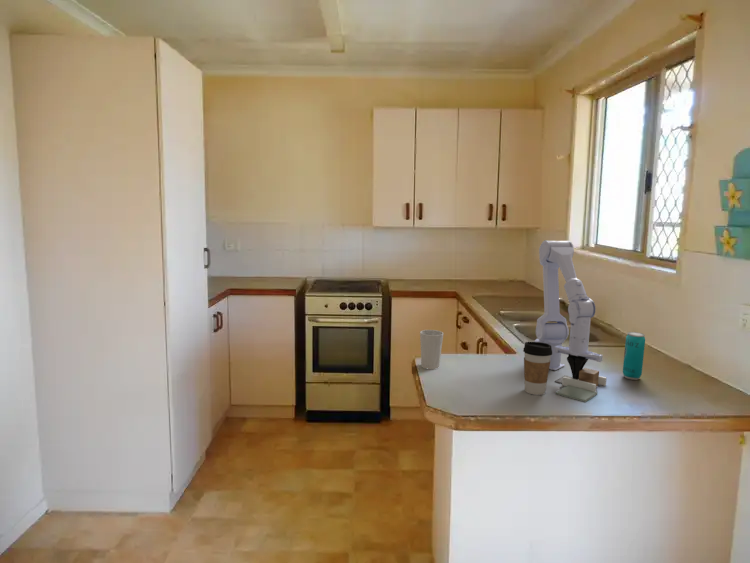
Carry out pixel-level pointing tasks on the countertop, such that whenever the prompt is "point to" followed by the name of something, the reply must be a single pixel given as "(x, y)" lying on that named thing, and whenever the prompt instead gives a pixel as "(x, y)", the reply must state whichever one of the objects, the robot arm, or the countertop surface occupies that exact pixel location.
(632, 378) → the beverage can
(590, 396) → the coaster
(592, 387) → the white u-shaped frame
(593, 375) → the block
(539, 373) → the coffee cup
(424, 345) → the cup
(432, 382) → the countertop surface
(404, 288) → the countertop surface
